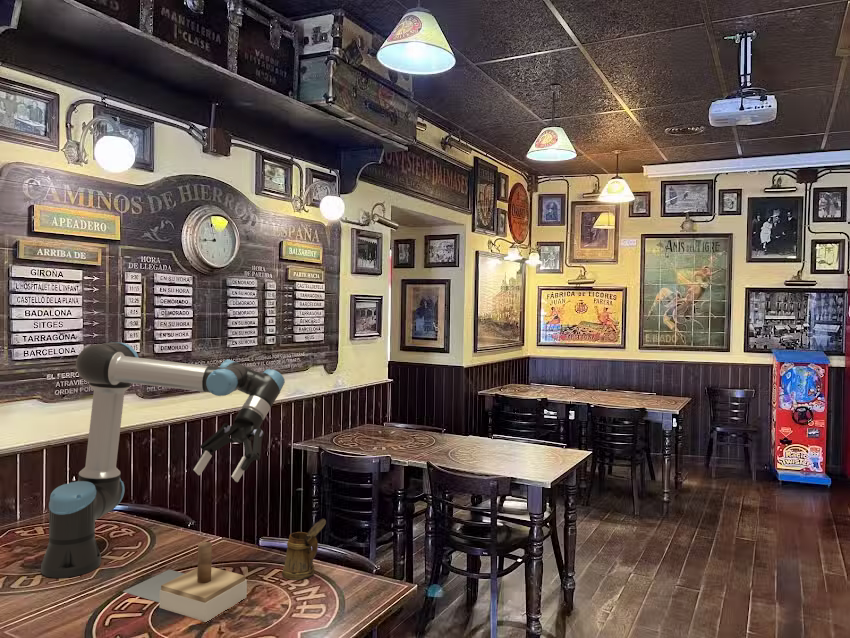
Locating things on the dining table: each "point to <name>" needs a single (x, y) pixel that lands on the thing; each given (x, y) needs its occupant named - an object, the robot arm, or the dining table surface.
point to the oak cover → (203, 579)
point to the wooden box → (200, 608)
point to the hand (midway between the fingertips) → (215, 476)
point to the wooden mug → (302, 553)
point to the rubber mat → (153, 585)
